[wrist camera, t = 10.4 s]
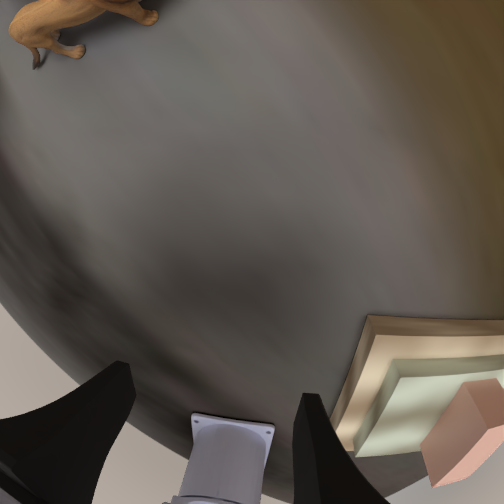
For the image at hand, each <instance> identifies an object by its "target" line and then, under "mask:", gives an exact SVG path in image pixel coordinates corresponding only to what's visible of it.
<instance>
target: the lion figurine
mask: <svg viewBox="0 0 504 504" xmlns="http://www.w3.org/2000/svg"><path fill="white" fill-rule="evenodd" d="M140 1H142V0H39V1H36V2H33V3H30V4H28V5H26V6H24V7H23V8H22V9H20V11H19V12H18V13H17V14H16V16H15V17H14V19H13V21H12V22H11V24H10V26H9V34H10V36H11V37H12V38H13V39H14V40H15V41H16V42H18V43H20V44H22V45H24V46H26V47H27V48H28V49H29V50H31V52H32V54H33V57H34V59H33V70H34V69H35V68H37V67H38V66H39V64H40V54H39V52H38V50H37V48H45V49H50V50H53V51H54V52H55V53H57V54H63V55H67V56H69V57H72V58H75V59H79V58H81V57H82V56H83V55H84V53H85V47H84V46H83V45H76V46H71V47H70V46H65V45H63V44H60V43H59V42H58V41H57V40H58V38H59V36H60V32H59V31H58V30H56V29H60V28H67V27H72V26H77V25H80V24H82V23H85V22H87V21H90V20H92V19H94V18H95V17H97V16H99V15H100V14H102V13H103V12H105V11H106V10H109V11H111V12H116V13H119V14H122V15H125V16H127V17H129V18H131V19H133V20H135V21H137V22H138V23H141V24H143V25H146V26H150V25H153V24H154V23H155V22H156V21H157V19H158V17H159V16H158V14H157V11H155V10H153V11H149V10H147V9H142V8H141V6H140V5H139V3H138V2H140ZM53 30H54V31H53Z"/></svg>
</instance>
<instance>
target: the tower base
mask: <svg viewBox="0 0 504 504" xmlns="http://www.w3.org/2000/svg"><path fill="white" fill-rule="evenodd" d="M492 378H497V380H498V381H499V383H500V384H501V386H502V387H503V389H504V320H460V319H431V318H410V317H392V316H377V315H368V316H367V319H366V322H365V326H364V329H363V332H362V335H361V338H360V341H359V344H358V347H357V350H356V353H355V356H354V359H353V362H352V364H351V367H350V370H349V373H348V375H347V378H346V381H345V383H344V386H343V388H342V391H341V394H340V396H339V399H338V401H337V403H336V406H335V408H334V411H333V413H332V415H331V418H330V422H331V424H332V426H333V428H334V430H335V432H336V434H337V436H338V438H339V440H340V441H341V443H342V445H343V447H344V448H345V450H346V451H354V453H355V457H366V456H379V455H390V454H399V453H407V452H414V451H421V448H420V444H421V442H422V441H423V440H424V439H425V437H426V436H427V435H428V433H429V432H430V431H431V429H432V428H433V427H434V425H435V424H436V423H437V421H438V420H439V418H440V417H441V416H442V414H443V413H444V411H445V410H446V408H447V407H448V405H449V404H450V402H451V401H452V399H453V398H454V396H455V395H456V393H457V391H458V390H459V388H460V387H461V385H462V383H463V382H468V381H477V380H485V379H492Z"/></svg>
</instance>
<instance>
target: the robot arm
mask: <svg viewBox="0 0 504 504" xmlns="http://www.w3.org/2000/svg"><path fill="white" fill-rule="evenodd" d="M135 398H136V392H135V388H134V384H133V379H132V375H131V371H130V366H129V364H128V363H124V362H121V361H115V362H114V363H112V364H111V365H110V366H108V367H107V368H105V369H104V370H103V371H101V372H100V373H98V374H97V375H96V376H94V377H93V378H91V379H90V380H88V381H87V382H85V383H84V384H83V385H81V386H80V387H78V388H76V389H75V390H74V391H72V392H70V393H68V394H67V395H65V396H63V397H62V398H60V399H58V400H56V401H54V402H52V403H50V404H48V405H46V406H43V407H41V408H38V409H36V410H33V411H30V412H28V413H25V414H21V415H18V416H14V417H10V418H5V419H0V504H92V500H93V496H94V492H95V488H96V485H97V482H98V479H99V476H100V473H101V470H102V468H103V465H104V462H105V460H106V457H107V455H108V453H109V451H110V449H111V447H112V445H113V443H114V441H115V439H116V438H117V436H118V434H119V432H120V431H121V429H122V427H123V425H124V423H125V421H126V420H127V418H128V416H129V414H130V411H131V409H132V406H133V403H134V401H135ZM191 422H192V432H193V441H194V445H193V449H192V452H191V455H190V459H189V462H188V465H187V468H186V472H185V475H184V478H183V482H182V485H181V489H180V491H179V495H178V496H173V498H172V501H171V503H167V502H164V503H162V504H260V500H261V491H262V482H263V473H264V468H265V464H266V461H267V457H268V453H269V449H270V446H271V442H272V438H273V434H274V430H275V426H274V425H272V424H264V423H255V422H247V421H240V420H233V419H226V418H220V417H214V416H209V415H203V414H198V413H193V414H192V416H191ZM292 448H293V469H294V504H390V503H389V502H388V501H387V500H386V499H385V498H383V497H382V496H381V495H380V493H379V492H378V491H377V490H376V489H375V488H374V487H373V486H372V485H371V484H370V483H369V482H368V481H367V479H366V478H365V477H364V476H363V474H362V473H361V472H360V471H359V469H358V468H357V467H356V465H355V464H354V462H353V461H352V459H351V458H350V456H349V455H348V453H347V452H346V450H345V448H344V447H343V445H342V443H341V441H340V440H339V438H338V436H337V434H336V432H335V430H334V428H333V426H332V424H331V422H330V420H329V417H328V415H327V413H326V411H325V408H324V406H323V403H322V400H321V398H320V395H319V394H313V393H303V394H302V398H301V401H300V404H299V408H298V411H297V414H296V417H295V421H294V427H293V442H292Z"/></svg>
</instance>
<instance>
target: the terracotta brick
mask: <svg viewBox="0 0 504 504" xmlns="http://www.w3.org/2000/svg"><path fill="white" fill-rule="evenodd" d="M503 441H504V389H503V387H502V386H501V384H500V383H499V381H498V380H497V378H492V379H485V380H477V381H468V382H463V383H462V385H461V387H460V388H459V390H458V391H457V393H456V395H455V396H454V398H453V399H452V401H451V402H450V404H449V405H448V407H447V408H446V410H445V411H444V413H443V414H442V416H441V417H440V418H439V420H438V421H437V423H436V424H435V425H434V427H433V428H432V429H431V431H430V432H429V433H428V435H427V436H426V437H425V439H424V440H423V441H422V442H421V444H420V448H421V451H422V454H423V458H424V461H425V464H426V468H427V471H428V475H429V479H430V482H431V486H432V488H433V487H437V486H441V485H445V484H448V483H453V482H456V481H459V480H463V479H466V478H467V477H469V476H470V475H471V474H472V473H473V472H474V471H475V470H476V469H477V468H478V467H479V466H480V465H481V464H482V463H483V462H484V461H485V460H486V459H487V458H488V457H489V456H490V455H491V454H492V453H493V452H494V451H495V450H496V449H497V448H498V446H499V445H500V444H501V443H502V442H503Z"/></svg>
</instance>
